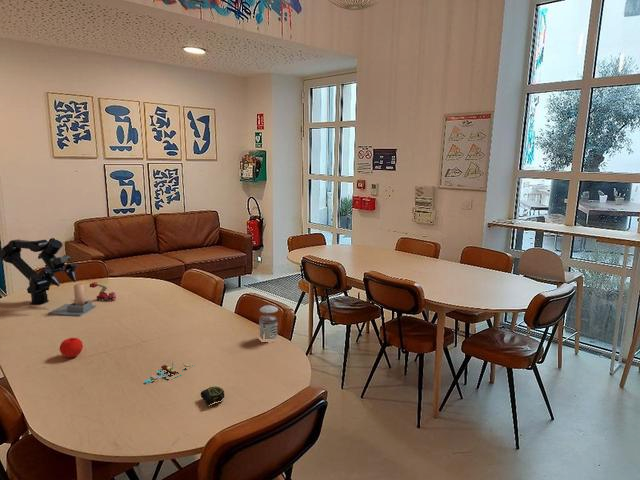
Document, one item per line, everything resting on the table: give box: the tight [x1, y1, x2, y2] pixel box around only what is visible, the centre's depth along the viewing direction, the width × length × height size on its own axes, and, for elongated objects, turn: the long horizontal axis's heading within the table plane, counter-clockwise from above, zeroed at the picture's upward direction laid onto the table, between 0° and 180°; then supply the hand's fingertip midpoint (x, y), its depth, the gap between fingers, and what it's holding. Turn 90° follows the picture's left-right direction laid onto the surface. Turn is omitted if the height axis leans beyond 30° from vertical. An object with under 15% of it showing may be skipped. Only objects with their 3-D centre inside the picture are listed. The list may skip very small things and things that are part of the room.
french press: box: [258, 284, 279, 339], centre depth 190 cm, size 10×12×25 cm
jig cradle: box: [47, 300, 96, 317], centre depth 219 cm, size 16×14×4 cm
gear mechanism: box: [143, 361, 191, 384], centre depth 158 cm, size 20×5×9 cm
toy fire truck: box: [89, 281, 117, 302], centre depth 237 cm, size 3×14×10 cm, turn 84°
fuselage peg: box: [73, 283, 86, 306], centre depth 218 cm, size 4×4×12 cm
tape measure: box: [200, 386, 225, 406], centre depth 141 cm, size 7×7×4 cm
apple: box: [58, 337, 84, 358], centre depth 169 cm, size 8×8×7 cm
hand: (67, 283), depth 220 cm, fingers open, 9 cm apart
